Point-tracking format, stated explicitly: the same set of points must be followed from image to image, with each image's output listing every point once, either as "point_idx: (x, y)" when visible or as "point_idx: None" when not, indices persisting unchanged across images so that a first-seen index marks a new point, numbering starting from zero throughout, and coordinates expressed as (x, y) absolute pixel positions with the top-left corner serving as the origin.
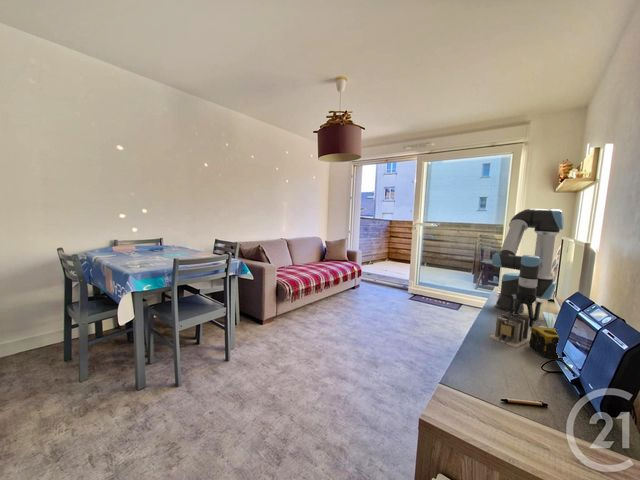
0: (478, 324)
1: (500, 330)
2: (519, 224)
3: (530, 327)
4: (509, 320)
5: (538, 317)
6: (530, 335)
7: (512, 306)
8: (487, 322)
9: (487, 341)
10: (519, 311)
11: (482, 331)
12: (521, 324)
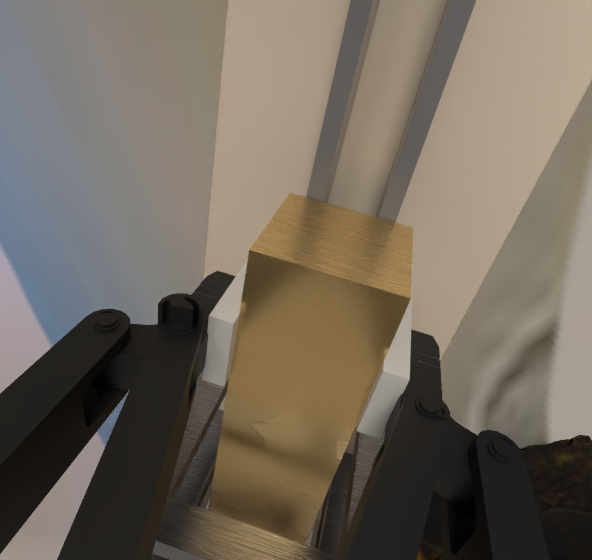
0: (26, 289)
1: (209, 485)
2: None
3: (417, 156)
4: (194, 456)
5: (524, 507)
6: (422, 302)
7: (36, 492)
8: (21, 173)
9: (206, 508)
10: (185, 389)
11: (120, 401)
12: None
